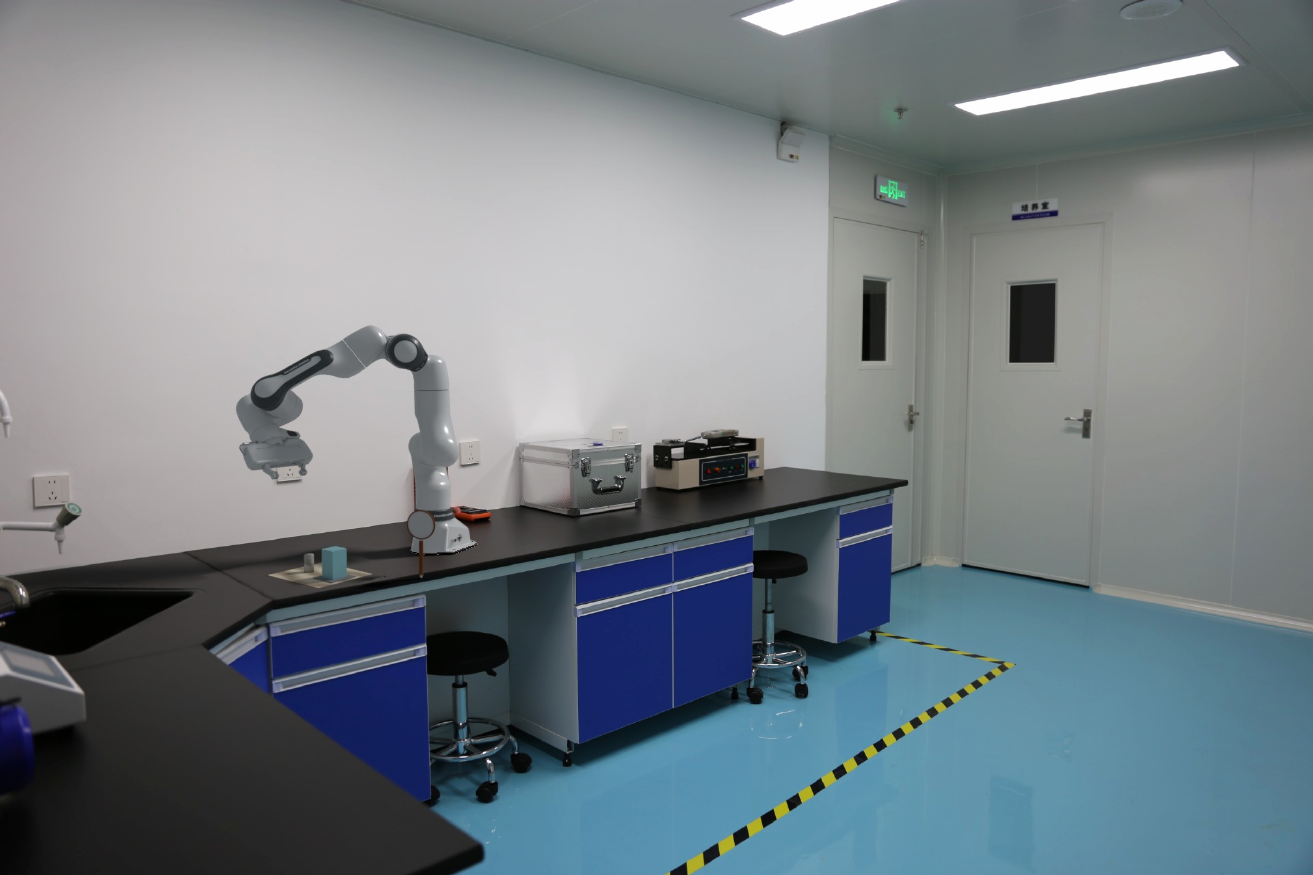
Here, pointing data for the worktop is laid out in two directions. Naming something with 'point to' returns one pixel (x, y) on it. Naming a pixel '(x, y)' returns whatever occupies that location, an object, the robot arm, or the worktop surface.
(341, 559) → the teal pillar
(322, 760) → the worktop surface
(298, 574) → the post board
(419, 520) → the magnifying glass
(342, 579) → the pad
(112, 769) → the worktop surface
